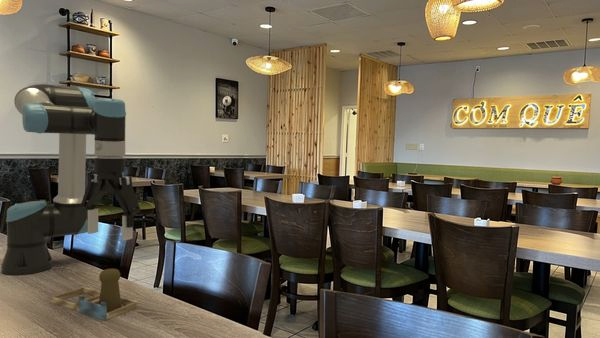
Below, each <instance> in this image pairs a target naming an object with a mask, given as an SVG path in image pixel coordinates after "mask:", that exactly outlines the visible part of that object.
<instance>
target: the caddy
mask: <svg viewBox="0 0 600 338" xmlns="http://www.w3.org/2000/svg"><path fill="white" fill-rule="evenodd" d="M100 291H101V290H97V289H93V288H89V287H85V286H82V287H79V288H76V289H73V290H69V291H67V292H63V293H60V294H56V295H54V296H51V297H50V299H49V300H50V301H49V302H50V304H54V305H58V306H60V307H63V308H67V309H69V310H74V311H77V312H78V313H79V314H83V315H85V316H88V317H92V318H95V319H97V320H102V321H108V320H110V319H113V318H115V317H118V316H120V315H123V314H125V313H127V312H130V311H132V310H134V309H137V308H138V307H139V301H138V300H134V299H131V298H126V297H122V296H120V297H121V304H122V305H124V306H122V307H121V308H119V309H116V310H114V311H111V312H108V313H107V307H106V303H105V302H101V305H99V298H100ZM80 294H86V295H90V296H92V297H89V298H86V299H85V296H84V295H80ZM78 295H79V296H78ZM75 296H78V302H77V301H76V302H71V301H68V300H65V299H68V298H71V297H72V298H73V297H75Z"/></svg>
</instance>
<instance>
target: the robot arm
mask: <svg viewBox="0 0 600 338" xmlns="http://www.w3.org/2000/svg"><path fill="white" fill-rule="evenodd" d="M14 106H15V108H16V110H17V111H18V112H19V114H21V115H22V116H21V118H22V119H21V120H22V127H23V130H24V131H25V132H27V133H34V134H58V136H59V137H58V181H57V182H58V183H57V186H58V187H57V188H58V189H57V193H58V194H57V195H56V196H54V198H53V199H52V201H53V202H52V204H47V202H46V201H45V200H33V201H26V202H22V203H17V204H14V205H11V206H10V207H9V208H7V211H6V219H5V221H6V241H7V242H6V252H5V253H4V257H3V259H2V263H1V265H0V271H1V273H2V274H4V275H11V276H13V275H14V276H16V275H18V276H19V275H20V276H21V275H30V274H35V273H40V272H45V271H47V270H49V269H51V268H52V267H53V258H52V256H51V253H50V251H49V248H48V246H47V238H53V237H54V238H55V237H62V236H73V235H74V236H77V235H81V234H86V233H87V234H88V235H90V234H91V235H92V234H95V233H99V207H98V205H99V203H100V201H101V200H102V198H103V197H104V195H105V194H106V193H109V194H111V195H113V196H114V197H115V199H116V201H117V202H118V204H119V206H120V208H121V209H122V211H123V215H122V218H121V221H122V222H121V224H122V225H121V230H122V232H121V234H122V235H121V236H122V237H121V239H122V241H128V240H129V241H130V240H132V239H133V237H134V234H133V233H134V227H135V215H136V214H139V213H141V208H140V204H139V202H138V199H137V196H136V193H135V190H134V187H133V179H132V176H125V177H124V176H123V173H124V172H125V171H126V159H125V158H124V157H126V116H127V112H126V111H127V110H126V103H125V101H124V100H122V99H117V98H103V97H102V98H99V97H98V98H96V97H95V94H94V92H93V91H92V90H91V89H89V88H86V87H85V88H84V87H79V86H67V85H57V84H47V83H46V84H45V83H44V84H43V83H41V84H40V83H39V84H32V85H28V86H25V87H24V88H21V89H20V90H19V91H18V92H17V93H16V94H15V96H14ZM87 135H94V138H93V139H94V156H95V158H94V159H93V161H94V163H93V165H94V169H93V170H94V172H95V173H90V174H88V183H87V186H86V164H87V161H86V157H87ZM85 187H86V188H85Z"/></svg>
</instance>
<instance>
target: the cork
mask: <svg viewBox="0 0 600 338" xmlns="http://www.w3.org/2000/svg"><path fill="white" fill-rule="evenodd" d="M98 277H99V281H100V285H101V286H100V290H99V291H100V298H99V305H101V302H105V303H106V307H107V313H108V312H111V311H114V310H116V309H119V308H121V307H123V304H122V303H121V297H122V296H121V291H120V285H119V281H120V279H121V272H120V270H119V269H117V268H107V269H103V270H102V271H100V273H99V275H98Z"/></svg>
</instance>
